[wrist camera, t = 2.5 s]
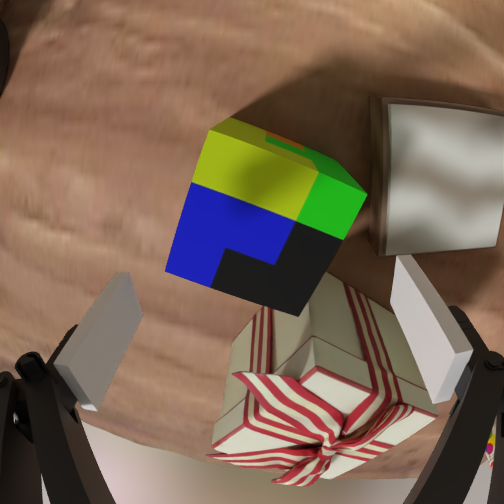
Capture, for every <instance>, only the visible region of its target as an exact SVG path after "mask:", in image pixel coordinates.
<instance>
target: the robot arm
mask: <svg viewBox="0 0 504 504" xmlns="http://www.w3.org/2000/svg"><path fill="white" fill-rule="evenodd" d="M8 56H9V45H8V36H7V32H6V29H5V26H4V24H3V23H2V21H1V20H0V94H1V91H2V88H3V84H4V81H5V77H6V72H7V66H8ZM390 304H391V306H392V308H393V310H394V312H395V315H396V317H397V319H398V321H399V323H400V325H401V328H402V330H403V332H404V334H405V337H406V339H407V341H408V344H409V346H410V348H411V351H412V353H413V355H414V358H415V360H416V363H417V365H418V367H419V370H420V372H421V375H422V377H423V380H424V382H425V385H426V388H427V390H428V393H429V395H430V398H431V401H432V404H435V403H440V402H444V401H448V400H450V398H451V396H452V394H453V392H454V390H455V392H456V395H457V397H458V399H457V400H456V402H455V404H454V406H453V408H452V409H451V411H450V413H449V414H450V416H449V419H448V421H447V423H446V425H445V428H444V430H443V432H442V434H441V436H440V438H439V440H438V442H437V444H436V446H435V448H434V450H433V452H432V454H431V456H430V458H429V460H428V462H427V464H426V465H425V467H424V469H423V471H422V473H421V474H420V476H419V478H418V480H417V482H416V483H415V485H414V487H413V488H412V490H411V491H410V493H409V495H408V496H407V498H406V499H405V501H404V503H403V504H463V502H464V500H465V498H466V496H467V494H468V491H469V489H470V487H471V485H472V482H473V480H474V478H475V475H476V473H477V470H478V468H479V465H480V463H481V460H482V458H483V455H484V452H485V449H486V446H487V444H488V441H489V438H490V435H491V431H492V428H493V425H494V422H495V418H496V438H495V450H494V460H493V469H492V476H491V484H490V490H489V495H488V501H487V504H504V357H503V356H502V355H501V354H499V353H497V352H494V351H489V350H488V348H487V347H486V345H485V343H484V342H483V340H482V339H481V337H480V335H479V334H478V332H477V331H476V329H475V328H474V326H473V325H472V323H471V322H470V320H469V319H468V317H467V316H466V314H465V313H464V312H463V311H462V310H461V309H459V308H458V307H457V306H448V307H447V306H446V304H445V303H444V301H443V300H442V298H441V297H440V295H439V294H438V292H437V291H436V289H435V288H434V286H433V285H432V283H431V282H430V281H429V279H428V278H427V276H426V275H425V273H424V272H423V271H422V269H421V268H420V266H419V265H418V264H417V262H416V261H415V260H414V258H413V257H412V256H411V254H410V255H397V256H396V264H395V272H394V279H393V286H392V293H391V299H390ZM142 317H143V313H142V310H141V307H140V304H139V301H138V298H137V295H136V292H135V289H134V286H133V283H132V280H131V277H130V274H129V272H120V273H116V274H115V275H114V276H113V278H112V279H111V280H110V282H109V283H108V284H107V286H106V287H105V288H104V290H103V291H102V293H101V294H100V295H99V297H98V298H97V300H96V301H95V302H94V304H93V305H92V307H91V308H90V309H89V311H88V312H87V314H86V315H85V316H84V318H83V319H82V321H81V322H80V324H79V325H75V326H74V327H72V328H71V329H70V330H69V331H68V332H67V333H66V335H65V336H64V338H63V340H62V341H61V342H60V343H59V347H57V348H56V349H55V351H54V352H53V354H52V356H51V357H50V359H49V360H48V362H47V363H46V364H45V362H44V361H43V359H42V358H41V356H40V354H39V353H37V352H28V353H26V354H24V355H22V356H21V357H20V358H19V359H18V360H17V362H16V364H15V369H16V371H17V372H18V374H19V375H20V377H21V378H22V379H15V378H14V377H13V375H12V374H11V373H10V372H8V371H4V372H1V373H0V504H43V499H42V482H41V474H42V477H43V481H44V484H45V487H46V491H47V494H48V497H49V501H50V504H116V503H115V501H114V499H113V497H112V495H111V493H110V491H109V489H108V486H107V484H106V482H105V480H104V478H103V475H102V473H101V471H100V469H99V466H98V464H97V462H96V459H95V457H94V455H93V452H92V449H91V447H90V444H89V442H88V439H87V436H86V434H85V431H84V428H83V426H82V422H81V420H80V417H79V414H78V411H77V409H76V408H75V404H76V402H77V400H78V402H79V403H80V404H81V406H82V407H83V409H88V410H93V411H98V410H99V408H100V405H101V403H102V401H103V399H104V396H105V394H106V392H107V390H108V388H109V385H110V383H111V381H112V379H113V377H114V375H115V372H116V370H117V368H118V366H119V364H120V362H121V360H122V358H123V356H124V353H125V351H126V349H127V347H128V345H129V343H130V341H131V339H132V337H133V335H134V333H135V331H136V329H137V327H138V325H139V323H140V321H141V319H142ZM496 415H497V417H496ZM14 418H15V423H14Z"/></svg>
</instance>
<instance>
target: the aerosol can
mask: <svg viewBox="0 0 504 504" xmlns="http://www.w3.org/2000/svg"><path fill="white" fill-rule="evenodd" d="M496 417H497V415H496ZM495 438H496V418H495V422H494V425H493V428H492V431H491V435H490V438H489V441H488V444H487V446H486V449H485V452H486V455H487V458H488V461H489V464H490V466H491V469H493V460H494V450H495Z"/></svg>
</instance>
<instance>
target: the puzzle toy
mask: <svg viewBox="0 0 504 504" xmlns="http://www.w3.org/2000/svg"><path fill="white" fill-rule="evenodd" d="M367 195H368V194H367V193H366V192H365V191H364V190H363V189H362V187H361V186H360V185H359V184H358V183H357V182H356V181H355V180H354V179H353V178H352V177H351V175H350V174H349V173H348V172H347V171H346V170H345V169H344V168H343V167H342V166H341V165H340V164H339V163H338V162H337V161H336V160H335V159H333V158H330V157H328V156H326V155H324V154H321V153H319V152H317V151H315V150H312V149H310V148H308V147H305V146H303V145H301V144H298V143H296V142H294V141H291V140H289V139H286V138H284V137H281V136H279V135H276V134H274V133H271V132H269V131H266V130H263V129H261V128H258V127H256V126H253V125H250V124H248V123H245V122H242V121H239V120H237V119H234V118H231V117H229V118H227V119H226V120H224V121H222V122H221V123H219V124H218V125H216V126H214V127H213V128H211V129H210V130H209V132H208V135H207V138H206V141H205V143H204V146H203V149H202V152H201V155H200V158H199V161H198V164H197V167H196V170H195V173H194V176H193V179H192V182H191V185H190V188H189V191H188V194H187V197H186V200H185V204H184V207H183V210H182V213H181V217H180V220H179V223H178V227H177V230H176V233H175V237H174V240H173V244H172V247H171V251H170V254H169V258H168V262H167V265H166V269H165V272H168V273H171V274H174V275H176V276H179V277H182V278H185V279H187V280H190V281H193V282H196V283H198V284H201V285H204V286H207V287H210V288H213V289H215V290H218V291H221V292H224V293H227V294H230V295H233V296H236V297H239V298H242V299H245V300H247V301H250V302H253V303H256V304H259V305H262V306H265V307H269V308H272V309H275V310H278V311H281V312H284V313H287V314H290V315H293V316H296V317H299V316H300V314H301V313H302V311H303V309H304V308H305V306H306V304H307V303H308V301H309V299H310V298H311V296H312V294H313V293H314V291H315V289H316V287H317V286H318V284H319V282H320V281H321V279H322V277H323V275H324V274H325V272H326V270H327V268H328V267H329V265H330V263H331V261H332V260H333V258H334V256H335V254H336V252H337V251H338V249H339V247H340V245H341V243H342V242H343V240H344V238H345V236H346V234H347V233H348V231H349V229H350V227H351V225H352V223H353V221H354V219H355V218H356V216H357V214H358V212H359V210H360V208H361V206H362V204H363V202H364V200H365V199H366V197H367Z"/></svg>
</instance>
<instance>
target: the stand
mask: <svg viewBox="0 0 504 504" xmlns="http://www.w3.org/2000/svg"><path fill="white" fill-rule="evenodd" d="M369 104H370V130H371V196H370V222H369V240H368V241H369V243H370V244H371V246H372V248H373V249H374V251H375V253H376V255H377V256H378V257H391V256H397V255H410V254H411V255H416V254H428V253H439V252H451V251H462V250H474V249H485V248H495V245H496V241H497V236H498V231H499V226H500V221H501V216H502V210H503V204H504V111H499V110H495V109H490V108H484V107H478V106H472V105H465V104H458V103H451V102H443V101H434V100H424V99H412V98H398V97H378V96H369Z"/></svg>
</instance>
